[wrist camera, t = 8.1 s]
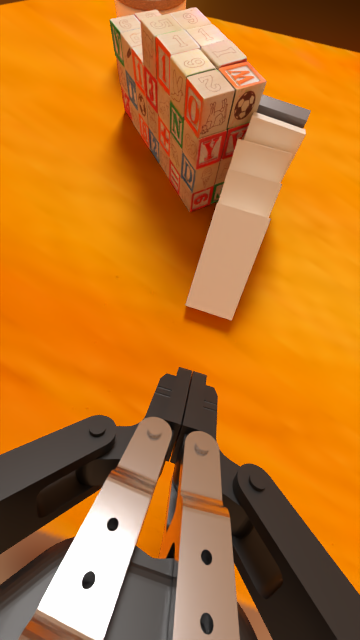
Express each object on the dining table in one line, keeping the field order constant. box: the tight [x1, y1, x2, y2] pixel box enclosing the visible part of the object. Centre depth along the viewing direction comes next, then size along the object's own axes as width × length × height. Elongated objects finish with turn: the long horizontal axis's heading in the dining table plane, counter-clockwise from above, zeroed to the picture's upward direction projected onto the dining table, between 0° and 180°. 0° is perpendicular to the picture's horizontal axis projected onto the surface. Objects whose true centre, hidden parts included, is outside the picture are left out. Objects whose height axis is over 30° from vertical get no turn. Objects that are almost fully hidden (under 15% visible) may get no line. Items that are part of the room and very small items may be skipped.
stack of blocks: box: [110, 8, 266, 212], centre depth 28 cm, size 21×6×12 cm, turn 28°
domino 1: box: [229, 139, 292, 183], centre depth 25 cm, size 5×2×10 cm
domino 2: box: [218, 169, 282, 218], centre depth 24 cm, size 5×2×10 cm
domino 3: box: [186, 203, 271, 320], centre depth 24 cm, size 5×2×10 cm
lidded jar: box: [115, 0, 186, 18], centre depth 36 cm, size 11×11×9 cm
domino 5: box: [244, 112, 306, 183], centre depth 25 cm, size 5×2×10 cm, turn 71°
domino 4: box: [257, 95, 310, 128], centre depth 27 cm, size 5×2×10 cm, turn 66°
